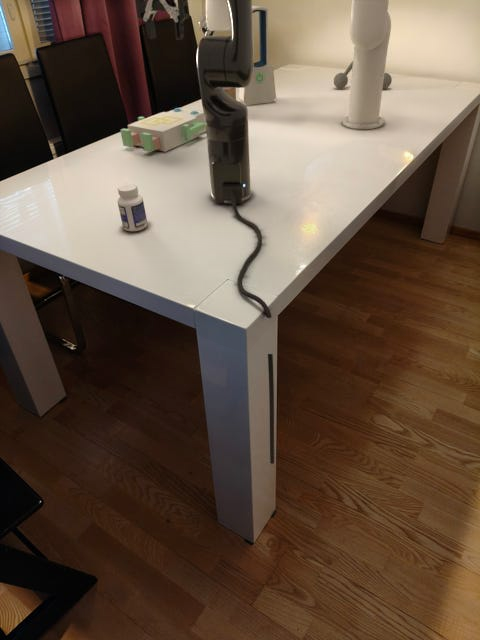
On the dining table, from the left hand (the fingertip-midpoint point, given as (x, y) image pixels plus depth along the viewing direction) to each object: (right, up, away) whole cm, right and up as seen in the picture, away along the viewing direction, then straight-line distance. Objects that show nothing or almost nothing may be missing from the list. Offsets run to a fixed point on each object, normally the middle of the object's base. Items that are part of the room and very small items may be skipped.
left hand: (165, 39), depth 122 cm
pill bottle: (-4, -50, -16) cm, 53 cm away
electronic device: (+25, +11, +60) cm, 66 cm away
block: (+14, +1, +48) cm, 50 cm away
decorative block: (-4, -14, +30) cm, 33 cm away
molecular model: (+66, +23, +72) cm, 100 cm away
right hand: (+14, +16, +35) cm, 41 cm away
